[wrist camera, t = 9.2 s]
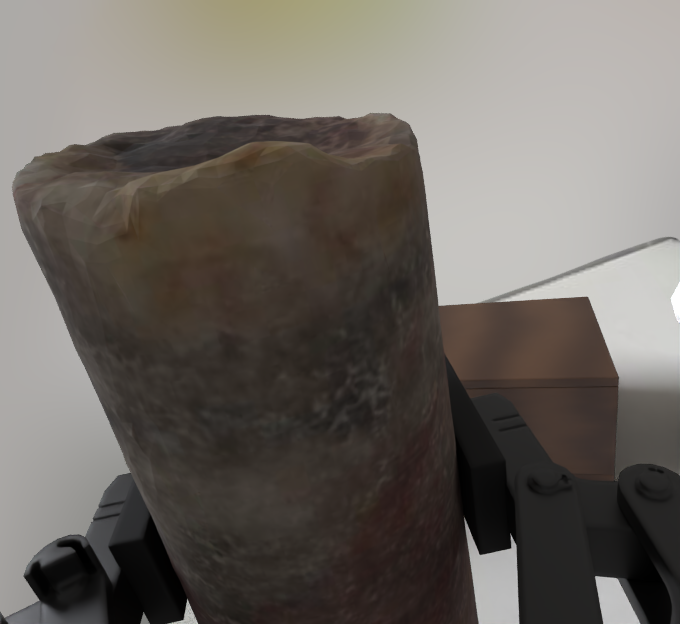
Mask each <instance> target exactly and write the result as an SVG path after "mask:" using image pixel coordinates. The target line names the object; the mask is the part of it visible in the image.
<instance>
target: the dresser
mask: <svg viewBox="0 0 680 624" xmlns="http://www.w3.org/2000/svg"><path fill="white" fill-rule="evenodd" d="M439 315H440V324H441V332H442V340H443V348H444V353H445V355H446V357H447V358H448V360H449V362H450V364H451V365H452V367H453V369H454V371H455V372H456V374H457V376H458V378H459V379H460V381H461V383H462V385H463V386H464V388H465V390H466V392H467V393H468V395H469V397H470V398H474V397H478V396H483V395H488V394H492V393H498V394H500V395H502V396H503V397H505V398H506V399H508V400H510V401H511V402H512V403H513V405H514V406H515V408H516V409H517V411H518V412H519V414H520V416H522V418H523V419H524V421H525V422H526V425H527V426H528V427H529V428H530V429H531V431H532V432H533V434H534V435H535V437H536V438H537V440H538V441H539V442H540V444H541V445H542V447H543V448H544V450H545V451H546V453H547V454H548V456H549V457H550V458H551V460H552V461H553V462H554V463H556V464H558V465H560V466H563V467H565V468H567V469H568V470H569V471H570V472H571V473H572V474H573V475H574V476H575V477H578V478H581V479H587V480H597V481H614V474H615V452H616V430H617V408H618V382H619V377H618V374H617V372H616V369H615V366H614V364H613V361H612V358H611V356H610V353H609V351H608V348H607V345H606V343H605V340H604V337H603V335H602V332H601V330H600V327H599V324H598V322H597V319H596V316H595V314H594V311H593V309H592V306H591V303H590V301H589V298H588V297H574V298H558V299H542V300H526V301H510V302H494V303H478V304H462V305H446V306H439Z"/></svg>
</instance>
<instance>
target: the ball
mask: <svg viewBox="0 0 680 624" xmlns="http://www.w3.org/2000/svg"><path fill="white" fill-rule="evenodd" d="M671 302H672V305H673V309H674V312H675V315H676V319H677V322H679V323H680V282H679V284H678V286H677V288H676V290H675V292H674V294H673V296H672V298H671Z"/></svg>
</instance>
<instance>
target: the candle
mask: <svg viewBox="0 0 680 624" xmlns="http://www.w3.org/2000/svg"><path fill="white" fill-rule="evenodd" d="M12 190H13V197H14V201H15V205H16V208H17V213H18V216H19V220H20V224H21V228H22V231H23V233H24V235H25V237H26V239H27V241H28V243H29V245H30V247H31V249H32V251H33V254H34V255H35V257H36V260H37V262H38V264H39V266H40V268H41V270H42V272H43V274H44V276H45V278H46V280H47V282H48V284H49V286H50V288H51V290H52V293H53V295H54V296H55V299H56V301H57V304H58V306H59V309H60V311H61V314H62V316H63V318H64V321H65V324H66V326H67V329H68V331H69V334H70V336H71V338H72V341H73V344H74V346H75V349H76V351H77V352H78V355H79V357H80V359H81V361H82V363H83V365H84V366H85V369H86V371H87V373H88V375H89V378H90V380H91V382H92V384H93V386H94V389H95V391H96V393H97V395H98V397H99V400H100V402H101V404H102V406H103V409H104V411H105V413H106V415H107V418H108V420H109V422H110V425H111V427H112V429H113V432H114V434H115V436H116V438H117V441H118V443H119V445H120V448H121V450H122V452H123V455H124V458H125V461H126V464H127V466H128V468H129V470H130V472H131V474H132V477H133V479H134V481H135V483H136V485H137V487H138V489H139V491H140V493H141V496H142V498H143V500H144V502H145V504H146V506H147V508H148V510H149V512H150V514H151V516H152V518H153V521H154V523H155V525H156V528H157V530H158V532H159V535H160V537H161V539H162V542H163V544H164V546H165V549H166V551H167V554H168V556H169V559H170V562H171V564H172V567H173V569H174V571H175V572H176V574H177V576H178V578H179V580H180V582H181V584H182V587H183V589H184V591H185V594H186V596H187V599H188V601H189V603H190V606H191V608H192V610H193V613H194V615H195V617H196V619H197V621H198V624H478V617H477V609H476V602H475V594H474V586H473V579H472V572H471V565H470V557H469V550H468V543H467V537H466V530H465V522H464V513H463V504H462V495H461V486H460V477H459V469H458V460H457V451H456V441H455V434H454V427H453V420H452V413H451V405H450V396H449V387H448V379H447V371H446V363H445V355H444V348H443V340H442V332H441V324H440V315H439V306H438V297H437V288H436V279H435V270H434V261H433V254H432V245H431V236H430V229H429V220H428V211H427V202H426V194H425V186H424V179H423V171H422V167H421V162H420V156H419V152H418V144H417V139H416V137H415V135H414V133H413V131H412V129H411V127H410V125H409V124H408V123H406V122H404V121H402V120H400V119H398V118H396V117H395V116H393V115H392V114H387V113H385V114H384V113H381V114H380V113H370V114H368V115H366V116H364V117H360V118H352V119H345V118H342V117H340V116H337V117H314V118H306V119H294V118H281V117H275V116H270V115H251V116H239V117H221V116H217V117H211V118H202V119H199V120H195V121H192V122H188V123H185V124H184V125H182V126H173V127H166V128H163V129H161V130H156V131H139V132H126V133H113V134H110V135H108V136H105V137H102V138H101V139H99V140H97V141H95V142H93V143H90V144H88V145H77V144H74V145H69V146H68V147H66V148H65V149H63V150H62V151H60V152H55V153H45V154H44V155H42V156H39V157H34V159H33V160H32V161H31V163H29V164H27V165H26V166H25V167H24V169H22V170H21V171H19V172H17V174H16V177H15V180H14V181H13V185H12Z"/></svg>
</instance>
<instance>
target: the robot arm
mask: <svg viewBox="0 0 680 624" xmlns="http://www.w3.org/2000/svg"><path fill="white" fill-rule="evenodd" d="M444 355H445V353H444ZM445 363H446V371H447V379H448V387H449V396H450V405H451V413H452V420H453V427H454V434H455V441H456V451H457V460H458V469H459V477H460V486H461V495H462V504H463V513H464V517H465V519H466V522H467V524H468V527H469V529H470V532H471V534H472V537H473V539H474V542H475V544H476V546H477V549H478V551H479V554H480V555H483V554H487V553H492V552H496V551H501V550H506V549H510V548H511V536H510V533H511V535H512V537H513V539H514V541H515V543H516V545H517V570H518V597H519V624H603V620H602V614H601V608H600V603H599V597H598V592H597V586H596V580H595V576H601V577H612V578H618V580H619V582H620V584H621V586H622V588H623V590H624V592H625V594H626V596H627V598H628V600H629V602H630V604H631V606H632V608H633V610H634V611H635V613H636V615H637V617H638V619H639V621H640V623H641V624H680V476H679V475H678V474H677V473H675V472H673V471H671V470H669V469H667V468H665V467H661V466H657V465H653V464H636V465H633V466H629V467H627V468H626V469H624V470H623V471H622V472H621V473H620V475H619V479H618V481H597V480H587V479H581V478H578V477H575V476H574V475H573V474H572V473H571V472H570V471H569V470H568V469H567V468H565V467H563V466H560V465H558V464H556V463H554V462H553V461H552V460H551V458H550V457H549V456H548V454H547V453H546V451H545V450H544V448H543V447H542V445H541V444H540V442H539V441H538V440H537V438H536V437H535V435H534V434H533V432H532V431H531V429H530V428H529V427H528V426H527V425H526V422H525V421H524V419H523V418H522V416H520V414H519V412H518V411H517V409H516V408H515V406H514V405H513V403H512V402H511V401H510V400H508V399H506V398H505V397H503V396H502V395H500V394H498V393H492V394H488V395H483V396H478V397H474V398H470V397H469V395H468V393H467V392H466V390H465V388H464V386H463V385H462V383H461V381H460V379H459V378H458V376H457V374H456V372H455V371H454V369H453V367H452V365H451V364H450V362H449V360H448V358H447V357H446V355H445ZM24 578H25V579H26V581H27V582H28V583H29V585H30V587H31V588H32V589H33V591H34V593H35V594H36V595H37V597H38V598H39V600H40V601H38V602H36V603H34V604H32V605H30V606H28V607H26V608H24V609H22V610H20V611H18V612H16V613H14V614H12V615H10V616H8V617H6V618H4V617H3V615H2V614H1V612H0V624H140V623H141V619H142V615H143V612H144V613H145V615H146V617H147V619H148V621H149V623H150V624H167V623H172V622H176V621H181V620H184V614H185V609H186V603H187V596H186V594H185V591H184V589H183V587H182V584H181V582H180V580H179V578H178V576H177V574H176V572H175V571H174V569H173V567H172V564H171V562H170V559H169V556H168V554H167V551H166V549H165V546H164V544H163V542H162V539H161V537H160V535H159V532H158V530H157V528H156V525H155V523H154V521H153V518H152V516H151V514H150V512H149V510H148V508H147V506H146V504H145V502H144V500H143V498H142V496H141V493H140V491H139V489H138V487H137V485H136V483H135V481H134V479H133V477H132V474H131V473H128V474H123V475H119V476H117V478H116V479H115V480H114V481H113V482H112V483H111V484H110V486H109V487H108V488H107V489H106V490H105V492H104V494H103V497H102V499H101V502H100V504H99V509H97V511H96V513H95V516H94V518H93V522H91V525H90V527H89V529H88V531H87V534H86V536H85V537H84V536H81V535H68V536H65V537H62V538H59V539H57V540H55V541H53V542H52V543H50V544H48V545H47V546H45V547H44V548H43V549H42V550H40V551H39V552H38V553H37V554H36V555H35V556H34V557H33V559H32V560H31V561H30V563H29V564H28V565H27V567H26V570H25V573H24Z"/></svg>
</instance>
